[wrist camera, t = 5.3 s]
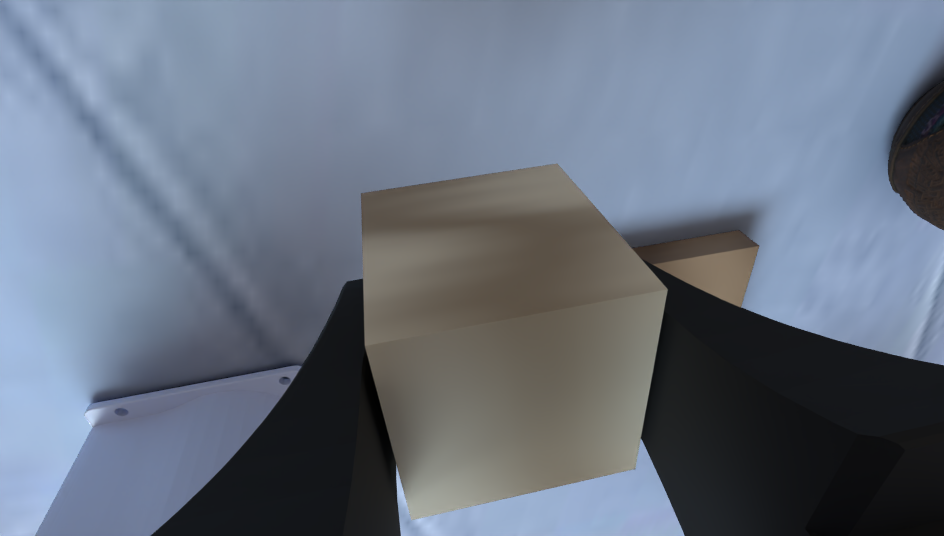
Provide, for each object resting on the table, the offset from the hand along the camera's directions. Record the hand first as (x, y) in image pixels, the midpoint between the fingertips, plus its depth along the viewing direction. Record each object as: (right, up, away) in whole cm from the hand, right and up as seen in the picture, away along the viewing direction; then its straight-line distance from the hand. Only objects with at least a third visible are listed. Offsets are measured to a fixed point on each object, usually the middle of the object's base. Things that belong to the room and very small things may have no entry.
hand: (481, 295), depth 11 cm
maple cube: (0, +1, +1) cm, 1 cm away
